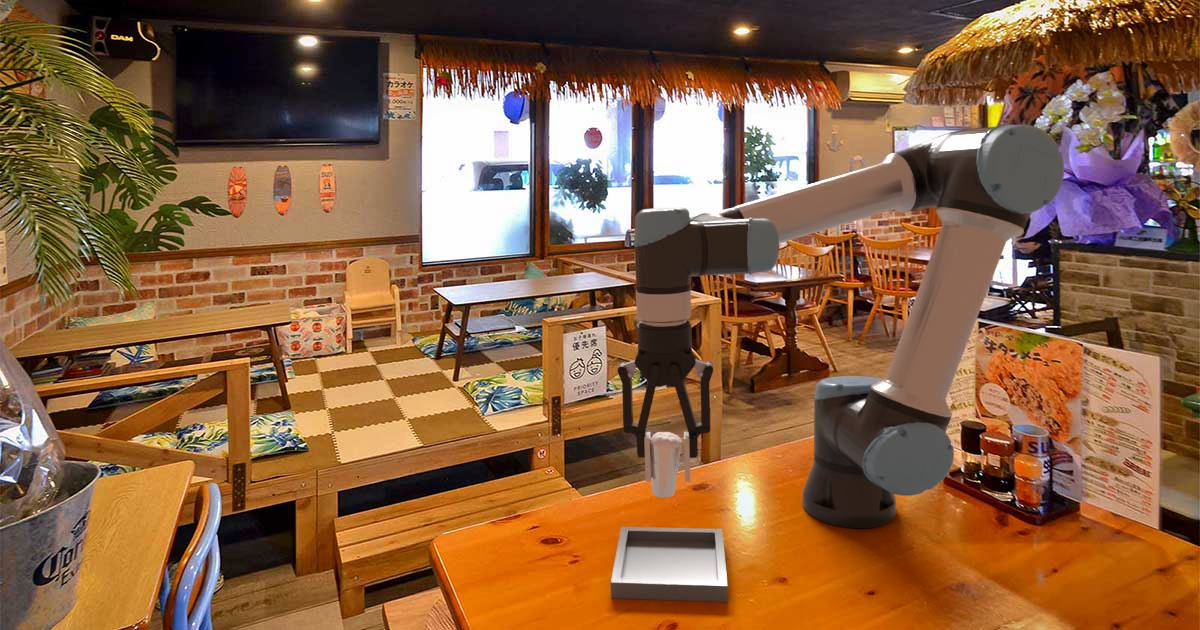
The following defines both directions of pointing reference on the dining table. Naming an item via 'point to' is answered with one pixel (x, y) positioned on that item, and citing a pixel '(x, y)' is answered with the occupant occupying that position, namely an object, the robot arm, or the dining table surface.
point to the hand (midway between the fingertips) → (668, 477)
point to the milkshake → (664, 463)
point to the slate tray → (670, 564)
